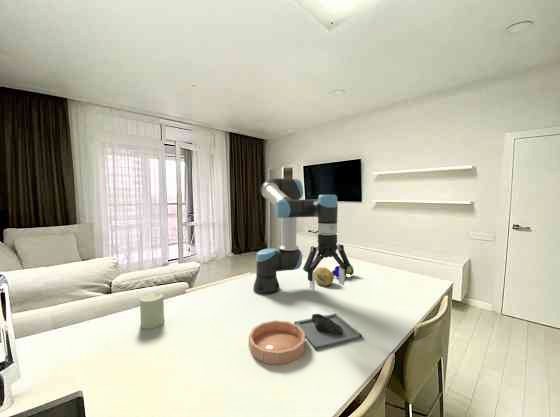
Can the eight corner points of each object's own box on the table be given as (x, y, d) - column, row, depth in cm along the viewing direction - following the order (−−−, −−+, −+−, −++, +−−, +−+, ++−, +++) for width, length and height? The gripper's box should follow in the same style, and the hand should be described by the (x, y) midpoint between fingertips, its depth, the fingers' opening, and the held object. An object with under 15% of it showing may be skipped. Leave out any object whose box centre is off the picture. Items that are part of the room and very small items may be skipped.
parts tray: (294, 324, 103) (294, 321, 103) (335, 316, 110) (335, 313, 110) (315, 350, 86) (315, 346, 86) (362, 338, 93) (362, 335, 93)
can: (169, 319, 108) (168, 293, 107) (152, 330, 99) (151, 301, 98) (153, 316, 111) (152, 290, 110) (135, 326, 102) (134, 298, 101)
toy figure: (340, 284, 157) (356, 276, 164) (340, 270, 155) (356, 263, 162) (331, 278, 165) (346, 271, 172) (330, 266, 162) (346, 259, 170)
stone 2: (339, 340, 92) (340, 326, 91) (308, 328, 99) (308, 316, 99) (345, 331, 97) (346, 318, 97) (315, 321, 105) (315, 309, 104)
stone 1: (336, 284, 149) (336, 268, 149) (324, 288, 143) (325, 271, 143) (321, 279, 159) (321, 264, 159) (310, 282, 153) (310, 266, 153)
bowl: (244, 336, 95) (244, 326, 94) (291, 326, 102) (291, 317, 101) (257, 371, 76) (257, 358, 76) (314, 356, 83) (314, 344, 83)
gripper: (303, 237, 88) (303, 294, 89) (359, 233, 97) (358, 285, 98) (294, 234, 95) (294, 287, 96) (348, 230, 104) (347, 279, 105)
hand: (327, 286), depth 97 cm, fingers open, 13 cm apart
